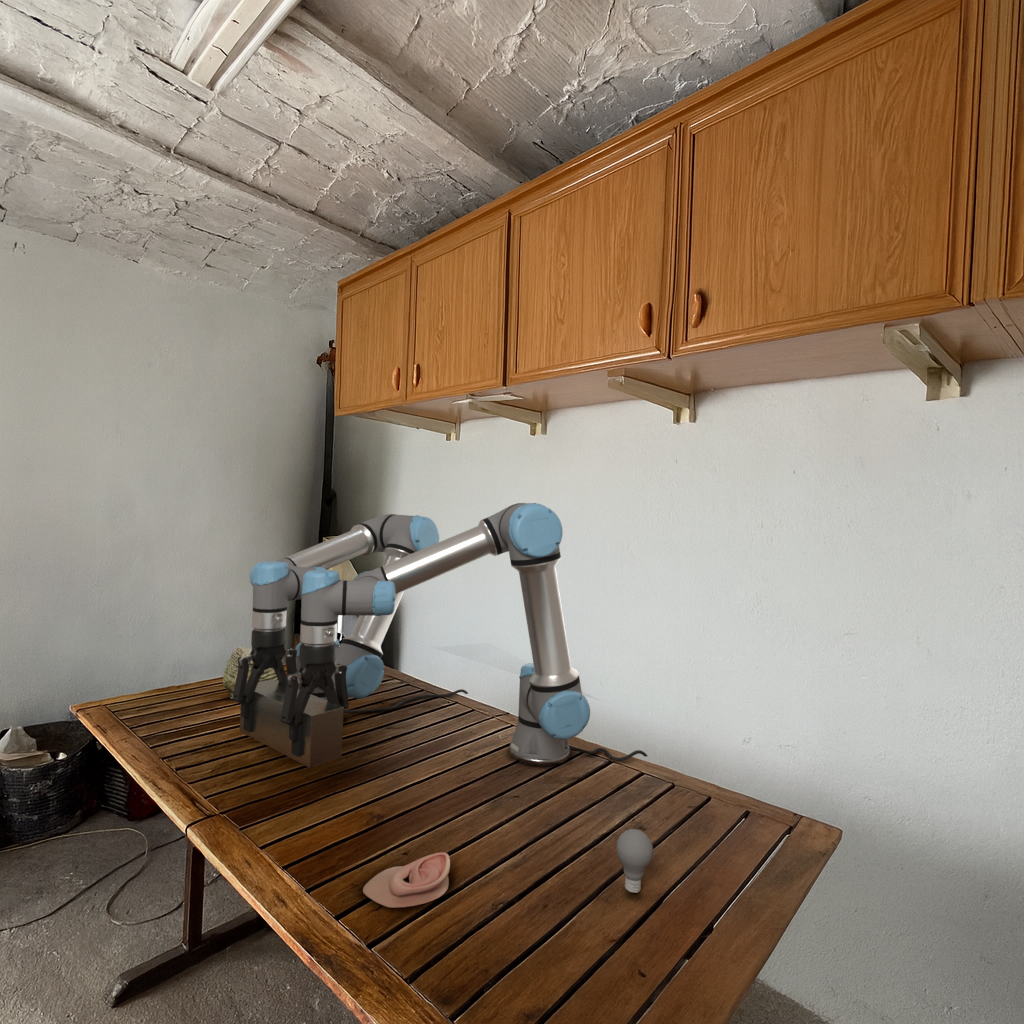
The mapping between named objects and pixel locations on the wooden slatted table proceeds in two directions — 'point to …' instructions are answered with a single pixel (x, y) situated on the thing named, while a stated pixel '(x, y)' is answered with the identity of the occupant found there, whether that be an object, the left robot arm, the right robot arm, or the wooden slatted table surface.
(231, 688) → the fossil
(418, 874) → the anatomical model
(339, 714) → the box
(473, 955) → the wooden slatted table surface
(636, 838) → the light bulb
